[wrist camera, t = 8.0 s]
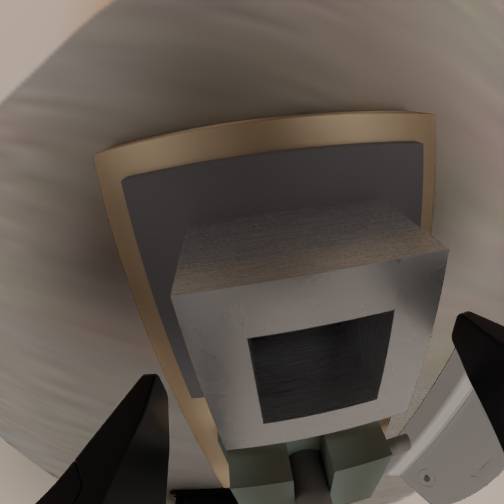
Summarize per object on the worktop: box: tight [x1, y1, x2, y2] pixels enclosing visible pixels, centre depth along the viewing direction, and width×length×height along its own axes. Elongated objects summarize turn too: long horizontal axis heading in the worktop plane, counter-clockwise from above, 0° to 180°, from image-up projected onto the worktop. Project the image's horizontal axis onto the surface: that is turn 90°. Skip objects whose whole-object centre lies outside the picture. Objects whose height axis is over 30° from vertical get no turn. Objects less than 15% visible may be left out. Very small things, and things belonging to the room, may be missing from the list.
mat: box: [121, 141, 424, 398], centre depth 12 cm, size 10×10×1 cm
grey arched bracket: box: [384, 348, 504, 504], centre depth 18 cm, size 17×5×10 cm, turn 173°
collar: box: [170, 199, 449, 450], centre depth 10 cm, size 6×6×4 cm
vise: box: [93, 111, 436, 504], centre depth 12 cm, size 12×24×9 cm, turn 7°
